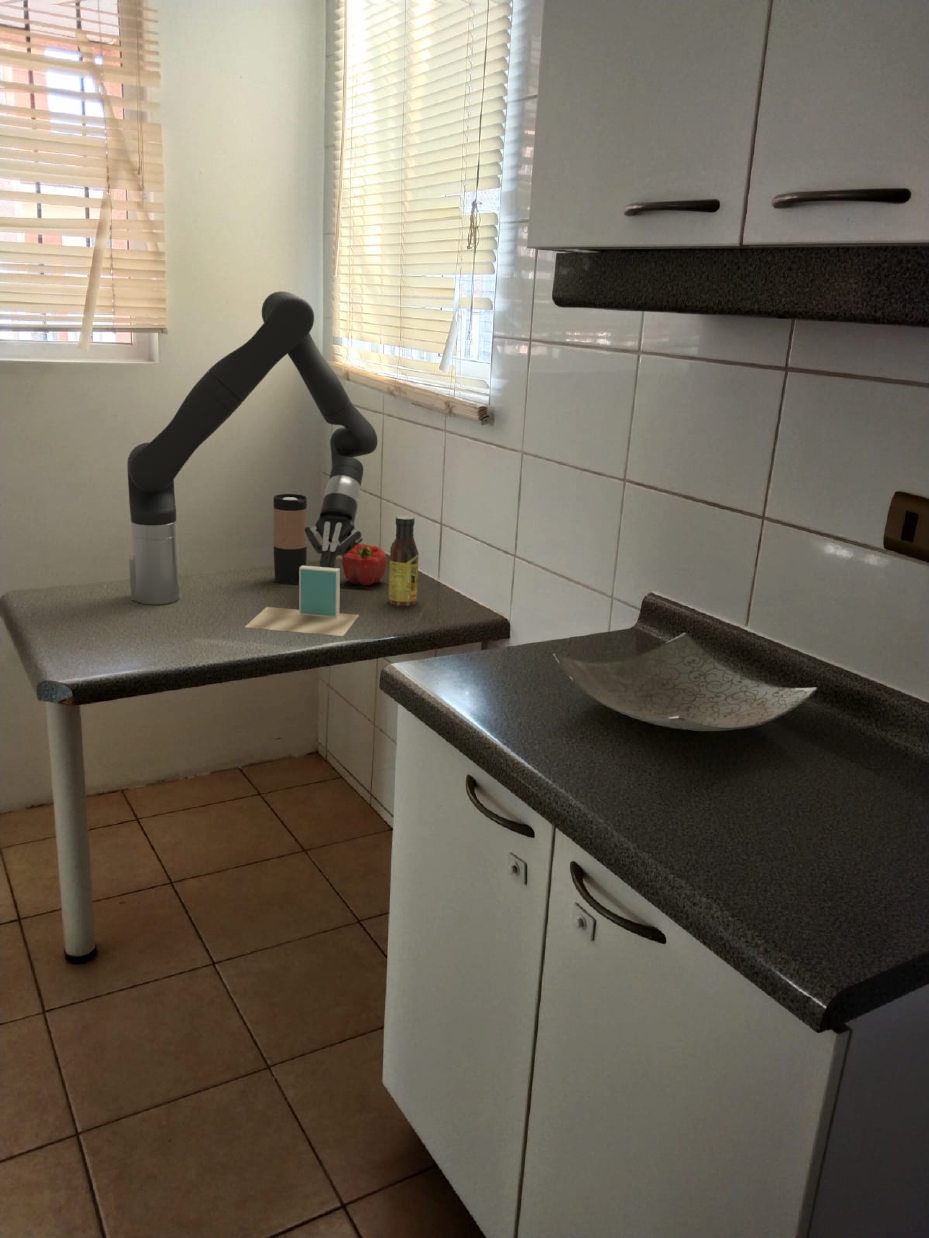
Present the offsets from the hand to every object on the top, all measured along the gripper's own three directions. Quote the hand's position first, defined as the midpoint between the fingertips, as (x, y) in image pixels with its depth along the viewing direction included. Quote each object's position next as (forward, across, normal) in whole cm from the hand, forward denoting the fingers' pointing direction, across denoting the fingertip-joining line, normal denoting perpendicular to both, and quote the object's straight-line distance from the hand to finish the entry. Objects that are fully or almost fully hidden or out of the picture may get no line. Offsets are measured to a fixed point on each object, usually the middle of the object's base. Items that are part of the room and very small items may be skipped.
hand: (325, 569), depth 211 cm
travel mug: (-8, -14, +22) cm, 27 cm away
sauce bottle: (0, +15, +13) cm, 20 cm away
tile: (+10, 0, +2) cm, 10 cm away
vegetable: (-10, +3, +24) cm, 26 cm away
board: (+14, -2, 0) cm, 14 cm away
